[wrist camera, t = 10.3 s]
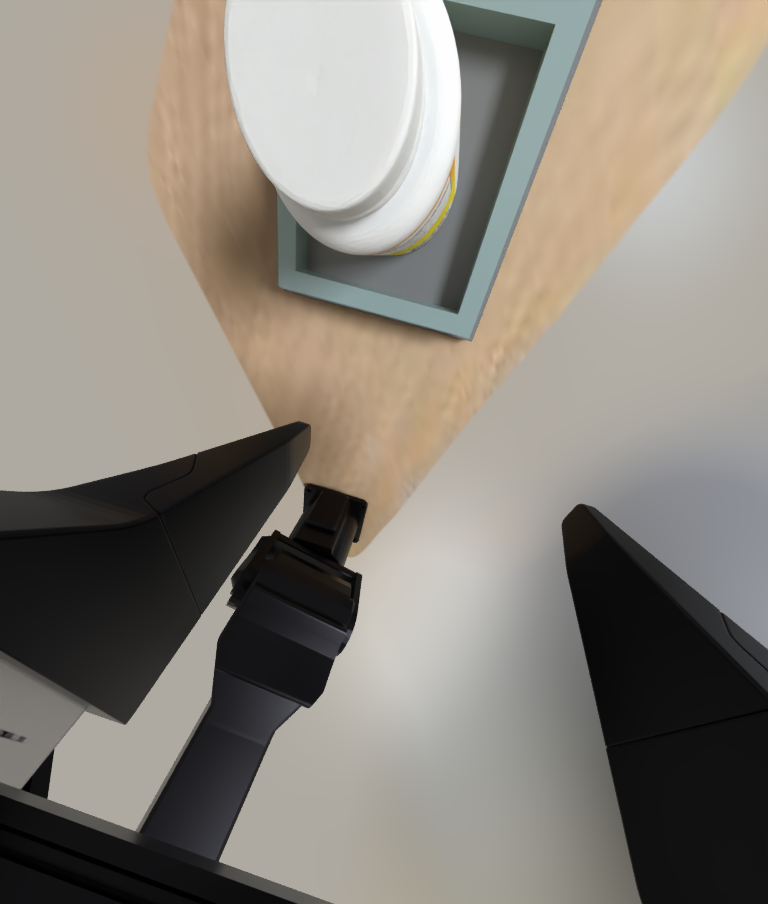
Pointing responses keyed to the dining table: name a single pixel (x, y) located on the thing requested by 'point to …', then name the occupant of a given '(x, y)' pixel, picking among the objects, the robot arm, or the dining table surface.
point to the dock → (463, 172)
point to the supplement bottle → (350, 114)
